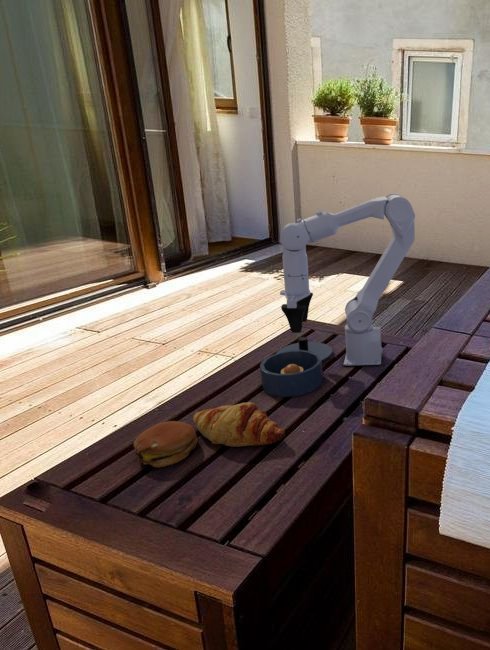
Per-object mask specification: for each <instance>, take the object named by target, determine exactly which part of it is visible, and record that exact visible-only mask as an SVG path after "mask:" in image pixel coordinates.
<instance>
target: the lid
mask: <svg viewBox="0 0 490 650" xmlns="http://www.w3.org/2000/svg"><path fill="white" fill-rule="evenodd" d="M291 350H305V351H312V352H314V353H316V354H319V356H320V357H321V359H322V362H324V361H327V359H329V358H330V357H331V356H332V354H333V349H332V347H331V346H329V345H328V344H326V343H323V342H317V341H309V340H308V337H306V336H301V337H299V338H298V339H297V343H295V342H294V343H292V344H291V343H290V344H288V345H285V346H284V347H281V348H280V349H279V350H277V351H276V353H275V354H277V353H280V352H285V351H291Z"/></svg>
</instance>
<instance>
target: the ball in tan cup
mask: <svg viewBox="0 0 490 650" xmlns="http://www.w3.org/2000/svg"><path fill="white" fill-rule="evenodd" d="M302 371H304V369H303V368H302V367H300V366H297V365H296V364H289V365H287V366H286V367H285V368H284V369H282V370H281V374H291V373H297V372H302Z"/></svg>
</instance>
